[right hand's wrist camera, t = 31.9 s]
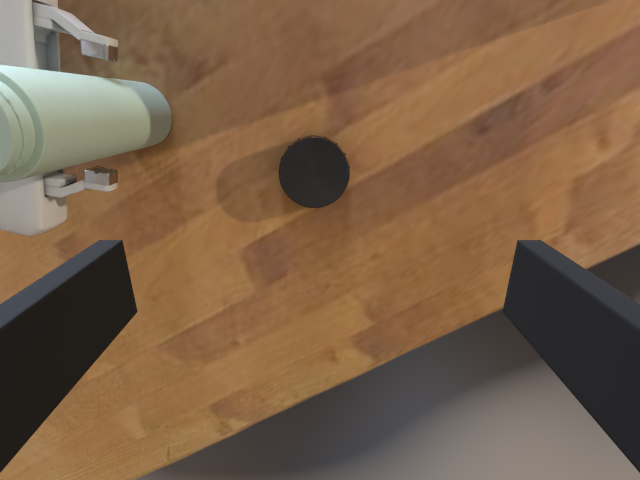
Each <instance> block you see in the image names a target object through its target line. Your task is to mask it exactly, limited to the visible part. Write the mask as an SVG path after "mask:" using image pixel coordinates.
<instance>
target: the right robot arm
mask: <svg viewBox="0 0 640 480" xmlns="http://www.w3.org/2000/svg"><path fill="white" fill-rule="evenodd" d="M136 313H137V308H136V303H135V298H134V294H133V289H132V284H131V279H130V274H129V270H128V265H127V260H126V255H125V251H124V246H123V241H122V240H99V241H97V242H96V243H94V244H93V245H91V246H90V247H88V248H87V249H85V250H84V251H82V252H80V253H79V254H77V255H76V256H74V257H73V258H71V259H70V260H68V261H67V262H65V263H63V264H62V265H60V266H59V267H57V268H56V269H54V270H53V271H51V272H50V273H48V274H46V275H45V276H43V277H42V278H40V279H39V280H37V281H36V282H34V283H33V284H31V285H29V286H28V287H26V288H25V289H23V290H22V291H20V292H19V293H17V294H16V295H14V296H12V297H11V298H9V299H8V300H6V301H5V302H3V303H2V304H0V472H1V471H2V470H3V469H4V468H5V466H6V465H7V464H8V463H9V462H10V461H11V459H12V458H13V457H14V456H15V455H16V454H17V452H18V451H19V450H20V449H21V448H22V447H23V445H24V444H25V443H26V442H27V441H28V440H29V438H30V437H31V436H32V435H33V434H34V432H35V431H36V430H37V429H38V428H39V427H40V425H41V424H42V423H43V422H44V421H45V420H46V418H47V417H48V416H49V415H50V414H51V413H52V411H53V410H54V409H55V408H56V407H57V405H58V404H59V403H60V402H61V401H62V400H63V398H64V397H65V396H66V395H67V394H68V393H69V391H70V390H71V389H72V388H73V387H74V386H75V384H76V383H77V382H78V381H79V380H80V378H81V377H82V376H83V375H84V374H85V373H86V371H87V370H88V369H89V368H90V367H91V366H92V364H93V363H94V362H95V361H96V360H97V359H98V357H99V356H100V355H101V354H102V353H103V351H104V350H105V349H106V348H107V347H108V346H109V344H110V343H111V342H112V341H113V340H114V339H115V337H116V336H117V335H118V334H119V333H120V332H121V330H122V329H123V328H124V327H125V326H126V325H127V323H128V322H129V321H130V320H131V319H132V317H133V316H134V315H135V314H136ZM503 313H504V314H505V315H506V316H507V317H508V319H509V320H510V321H511V322H512V323H513V325H514V326H515V327H516V328H517V329H518V330H519V332H520V333H521V334H522V335H523V336H524V337H525V339H526V340H527V341H528V342H529V343H530V344H531V346H532V347H533V348H534V349H535V350H536V351H537V353H538V354H539V355H540V356H541V357H542V358H543V360H544V361H545V362H546V363H547V364H548V366H549V367H550V368H551V369H552V370H553V371H554V372H555V374H556V375H557V376H558V377H559V378H560V380H561V381H562V382H563V383H564V384H565V386H566V387H567V388H568V389H569V390H570V391H571V393H572V394H573V395H574V396H575V397H576V398H577V400H578V401H579V402H580V403H581V404H582V405H583V407H584V408H585V409H586V410H587V411H588V413H589V414H590V415H591V416H592V417H593V418H594V420H595V421H596V422H597V423H598V424H599V425H600V427H601V428H602V429H603V430H604V431H605V432H606V434H607V435H608V436H609V437H610V438H611V439H612V441H613V442H614V443H615V444H616V445H617V447H618V448H619V449H620V450H621V451H622V452H623V454H624V455H625V456H626V457H627V458H628V459H629V461H630V462H631V463H632V464H633V465H634V466H635V468H636V469H637V470H638V471H639V472H640V304H638V303H637V302H635V301H634V300H632V299H631V298H629V297H628V296H626V295H624V294H623V293H621V292H620V291H618V290H617V289H615V288H614V287H612V286H610V285H609V284H607V283H606V282H604V281H603V280H601V279H600V278H598V277H597V276H595V275H594V274H592V273H590V272H589V271H587V270H586V269H584V268H583V267H581V266H580V265H578V264H577V263H575V262H573V261H572V260H570V259H569V258H567V257H566V256H564V255H563V254H561V253H560V252H558V251H556V250H555V249H553V248H552V247H550V246H549V245H547V244H546V243H544V242H543V241H541V240H518V241H517V246H516V251H515V255H514V260H513V265H512V270H511V274H510V279H509V284H508V289H507V294H506V298H505V303H504V308H503Z"/></svg>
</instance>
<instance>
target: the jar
mask: <svg viewBox="0 0 640 480" xmlns="http://www.w3.org/2000/svg"><path fill="white" fill-rule="evenodd" d="M171 125H172V114H171V109H170V106H169V104H168V102H167V100H166V99H165V97H164V96H163V95H162V94H161V93H160V92H159V91H158V90H157V89H156V88H154V87H153V86H151V85H149V84H146V83H143V82H137V81H129V80H121V79H113V78H104V77H96V76H88V75H80V74H72V73H64V72H56V71H48V70H39V69H31V68H23V67H15V66H7V65H0V182H12V181H17V180H21V179H25V178H29V177H33V176H36V175H40V174H44V173H48V172H52V171H56V170H60V169H64V168H68V167H72V166H75V165H79V164H83V163H87V162H91V161H95V160H99V159H103V158H107V157H111V156H115V155H118V154H122V153H126V152H130V151H134V150H138V149H142V148H146V147H150V146H153V145H156V144H158V143H160V142H162V141H163V140H164V139H165V138H166V137H167V135H168V134H169V132H170V129H171Z"/></svg>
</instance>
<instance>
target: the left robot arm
mask: <svg viewBox="0 0 640 480" xmlns="http://www.w3.org/2000/svg"><path fill="white" fill-rule="evenodd" d="M59 32H60V33H65V34H71V35H73V36H74V37H75V38H77V39H78V40H79V41H81V54H82V55H86V56H91V57H96V58H100V59H105V60H110V61H115V62H118V40H116V39H113V38H110V37H106V36H102V35H97V34H95V33H94V32H93V31H92V30H90V29H89V28H88V27H87V26H86V25H84V24H83V23H82V22H81V21H80V20H79V19H77V18H76V17H75V16H74V15H73V14H71V13H69V12H66V11H63V10H61V9H58V0H0V65H7V66H15V67H23V68H31V69H39V70H48V71H56V72H61V60H60V37H59ZM76 182H77V177H76V176H75V175H70V174H66V172H65V168H64V169H60V170H56V171H52V172H48V173H44V174H40V175H36V176H33V177H29V178H25V179H21V180H17V181H12V182H0V230H3V231H7V232H11V233H15V234H19V235H24V236H36V235H40V234H43V233H45V232H47V231H49V230H51V229H53V228H55V227H57V226H58V225H60V224H61V223H63V222H64V221H65V220H66V219H67V196H68V195H71V194H74V193H77V192H79V191H82V190H85V189H92V190H98V191H103V192H109V191H113V190H115V189H117V182H118V171H117V170H115V169H109V170H108V169H107V168H105V167H99V166H96V167H93V168H92V169H90V168H89V169H85V170H84V180H82V181H79V182H77V183H76Z"/></svg>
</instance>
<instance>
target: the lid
mask: <svg viewBox="0 0 640 480" xmlns="http://www.w3.org/2000/svg"><path fill="white" fill-rule="evenodd" d="M345 156H346V155H345V153H343V151H342V150H341V148H340V147H339V146H338V145H337V143H334V142H333V141H331V140H329V139H327V138H326V137H321V136H313V135H311V136H308V137H304V138H301V139H300V138H299V139H298V140H297V141H296V142H294V143H293V144H292V145H291V146H288V149H287V150H286V152H285V154H284V155H283V157H282V158H281V162H280V166H279V178H280V182H281V185H282V188H283V190H284V191H285V193H286V194H287V195H288V196H289V197H290V199H292V200H293V201H294V202H296V203H298V204H300V205H302V206H305V207H310V208H319V207H324V206H327V205H329V204H331V203H333V202H334V201H336V200H337V199H338V198H339V197H340V196H341V195H342V194H343V192H344V191H345V189H346V187H347V184H348V181H349V168H350V167H349V165H348V161H347V159H346V157H345Z"/></svg>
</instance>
